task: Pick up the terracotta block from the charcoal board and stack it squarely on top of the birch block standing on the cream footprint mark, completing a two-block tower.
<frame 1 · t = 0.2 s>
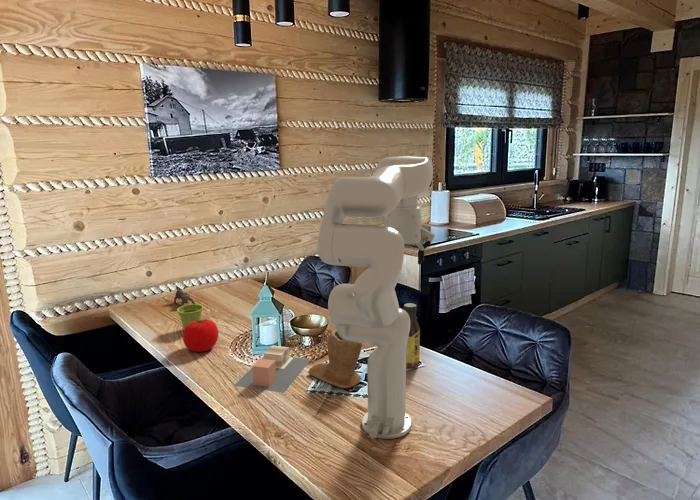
hand: (402, 262, 140), 37 cm above the table, tool pointing down, fingers open, 9 cm apart
build board: (274, 374, 153), on the table
birch block: (277, 361, 160), point 1 cm above the table, touching build board
sauce bottle: (409, 364, 159), on the table
tomato: (202, 349, 173), on the table
tan boot: (338, 379, 150), on the table
dog figurine: (183, 305, 218), on the table
plant pot: (192, 330, 190), on the table
terracotta block: (265, 381, 147), point 1 cm above the table, touching build board
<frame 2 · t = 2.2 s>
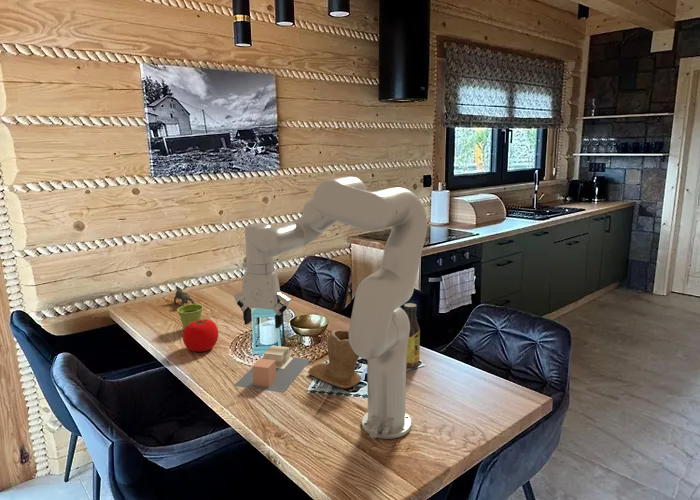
hand: (263, 324, 143), 19 cm above the table, tool pointing down, fingers open, 9 cm apart
nothing on the table moved.
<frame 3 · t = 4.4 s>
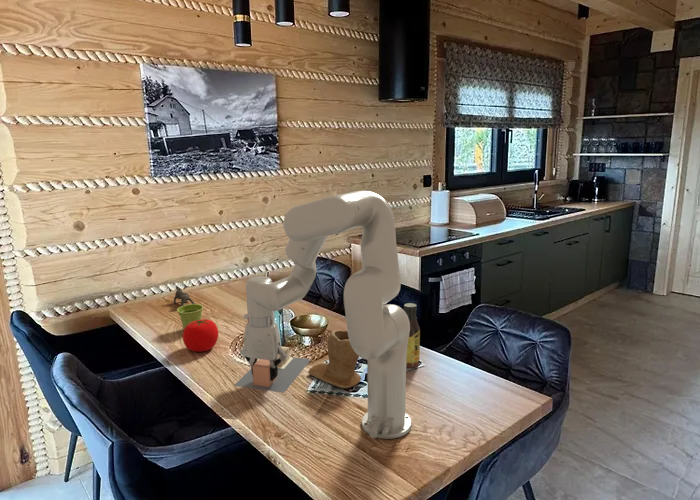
hand: (264, 376, 146), 3 cm above the table, tool pointing down, fingers closed on terracotta block, 4 cm apart
terracotta block: (265, 381, 147), point 1 cm above the table, touching build board, gripper
everything else where it was.
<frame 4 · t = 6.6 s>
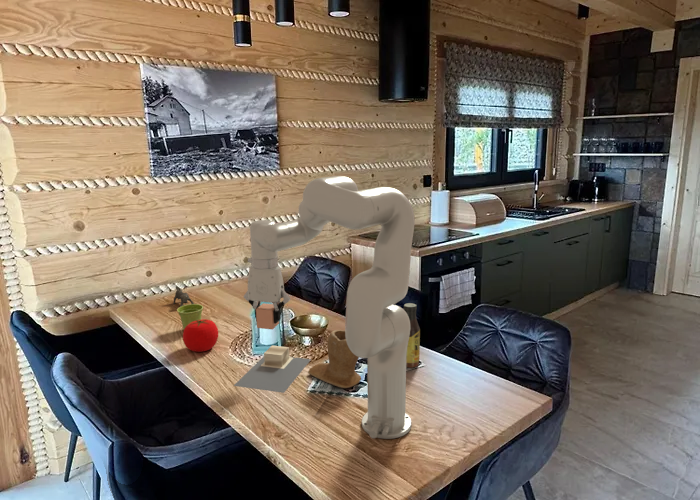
hand: (268, 320, 149), 18 cm above the table, tool pointing down, fingers closed on terracotta block, 4 cm apart
terracotta block: (268, 325, 150), point 16 cm above the table, touching gripper
everything else where it was.
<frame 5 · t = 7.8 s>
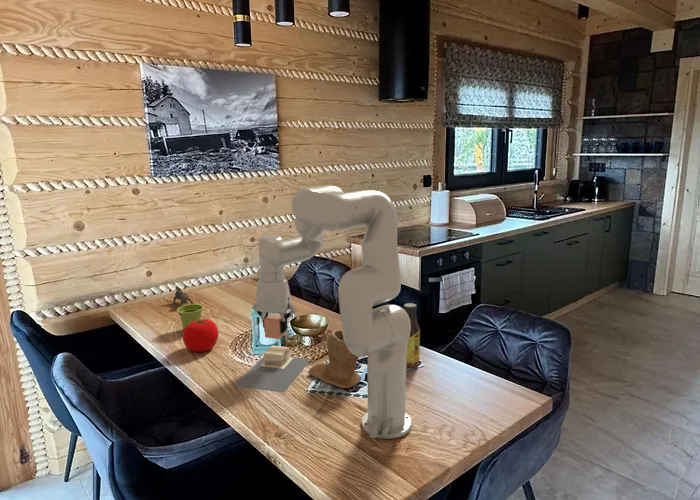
hand: (275, 330, 157), 12 cm above the table, tool pointing down, fingers closed on terracotta block, 4 cm apart
terracotta block: (275, 335, 157), point 10 cm above the table, touching gripper
everything else where it was.
when the fingers open (8 cm above the table, at t = 8.9 s): terracotta block drops 1 cm, resting on birch block.
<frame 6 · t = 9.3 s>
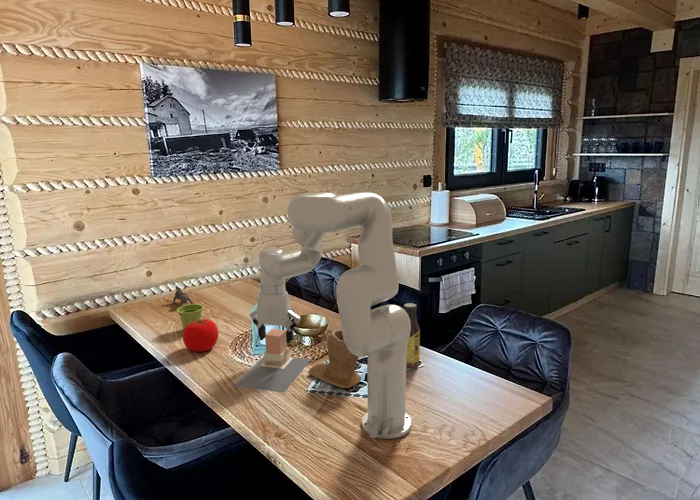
hand: (276, 340, 158), 9 cm above the table, tool pointing down, fingers open, 8 cm apart
birch block: (277, 361, 160), point 1 cm above the table, touching build board, terracotta block
terracotta block: (276, 350, 159), point 5 cm above the table, touching birch block
everything else where it was.
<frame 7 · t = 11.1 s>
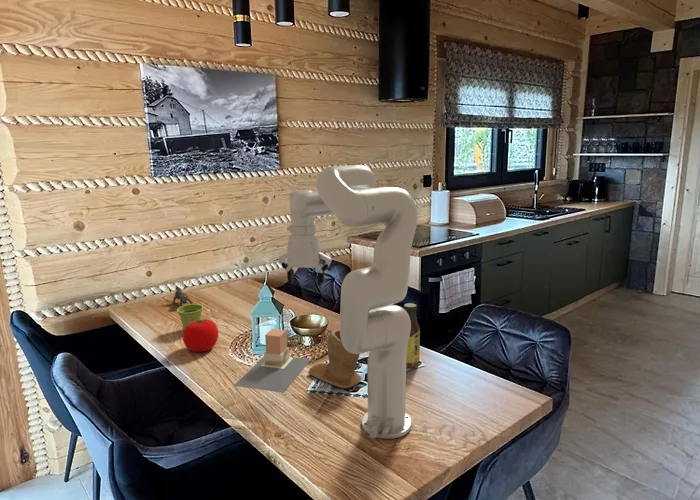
hand: (306, 283, 157), 26 cm above the table, tool pointing down, fingers open, 9 cm apart
nothing on the table moved.
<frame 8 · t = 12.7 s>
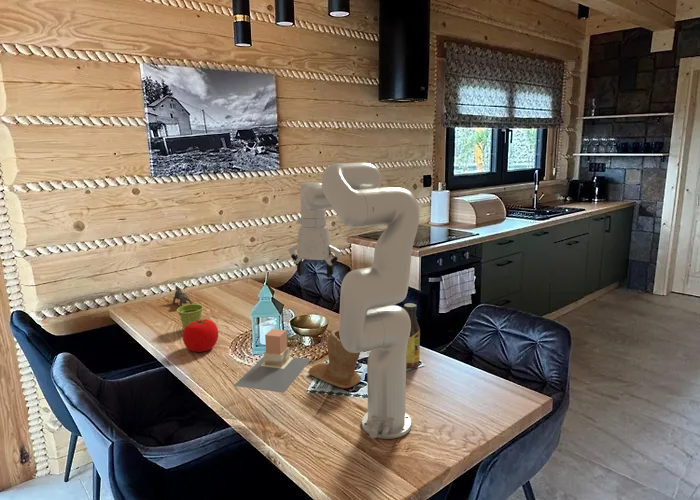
hand: (315, 275, 158), 28 cm above the table, tool pointing down, fingers open, 9 cm apart
nothing on the table moved.
at the end: terracotta block 0.0 cm off-centre on the birch block, point 4.0 cm above the birch block's base; terracotta block tilted 0°; birch block moved 0.0 cm from its start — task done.
